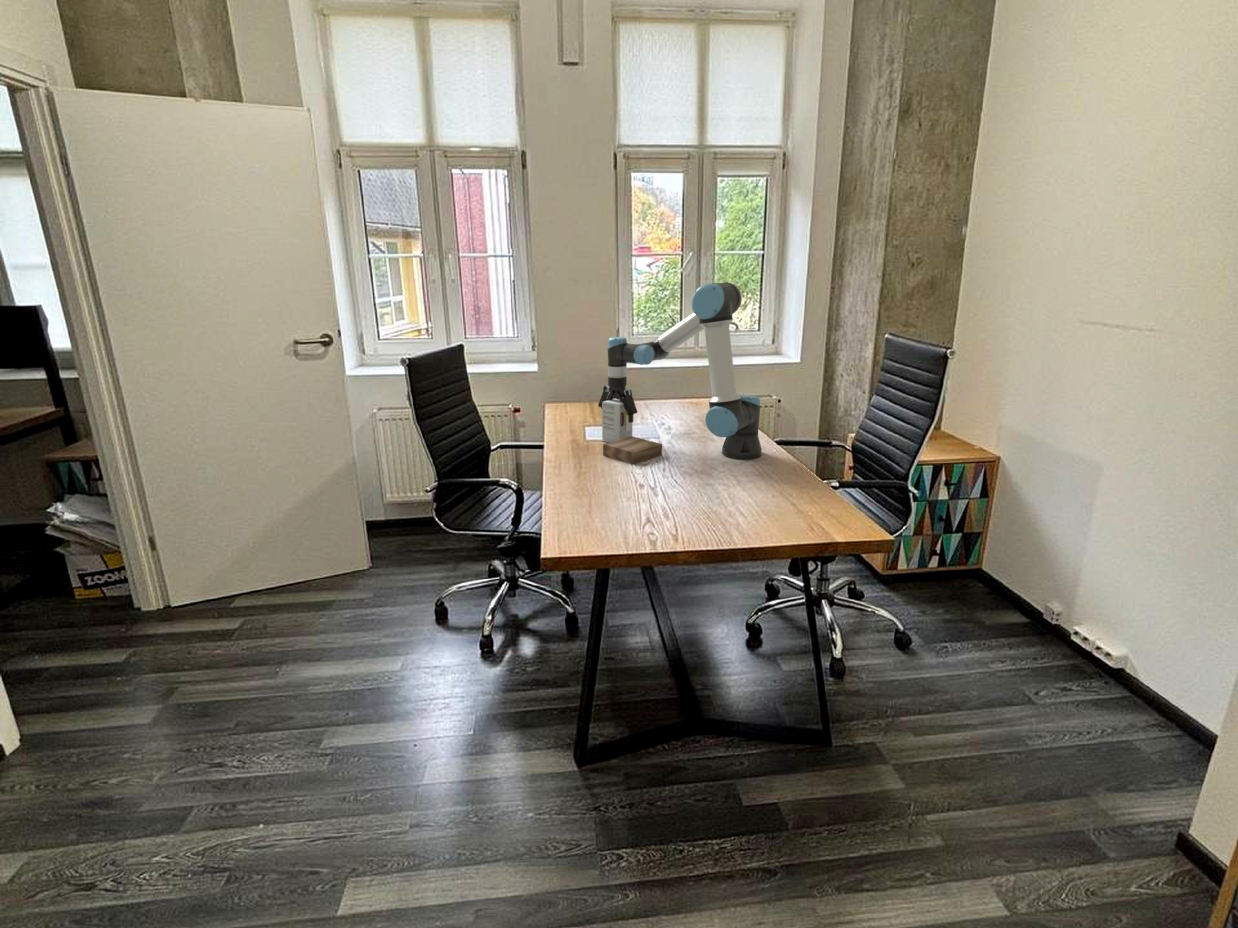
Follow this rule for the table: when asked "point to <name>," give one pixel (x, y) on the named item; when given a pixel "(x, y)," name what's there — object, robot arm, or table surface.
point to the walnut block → (632, 450)
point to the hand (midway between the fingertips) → (617, 427)
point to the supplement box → (614, 421)
